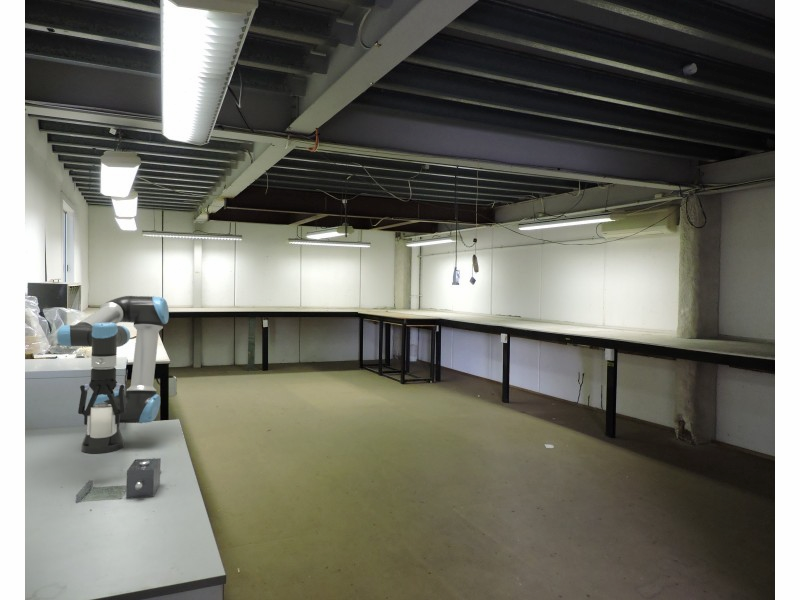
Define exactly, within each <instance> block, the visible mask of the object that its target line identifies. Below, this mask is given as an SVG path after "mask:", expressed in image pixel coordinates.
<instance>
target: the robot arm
mask: <svg viewBox="0 0 800 600" xmlns="http://www.w3.org/2000/svg"><path fill="white" fill-rule="evenodd" d="M168 306H169V305H168V301H167V300H166V299H165V298H164V297H160V296H155V295H154V296H149V295H147V296H145V295H143V296H140V295H138V296H137V295H123V296H119V297H115V298H113V299H111V300H108V301H106V302H104V303H103V304H101V306H100V307H99V309H98V310H97V311H95V312H94V313H91V314H90V315H88V316H87V317H86V318H84V319H82V320H80V321H79V322H77V323H76V324H74V325H72V324H69V325H68V324H66V325H61V326H59V328H58V330H57V332H56V340H57V344H59V345H60V346H62V347H70V348H71V347H83V348H85V347H87V348H88V347H91V357H90V358H91V359H90V362H91V363H90V364H91V365H90V367H91V369H90V381H89V383H87V384H86V383H83V384H81V385H80V386H79V389H80V397H79V404H78V410H77V413H78V415H83V417H84V419H83V424H84V425H85V426H86V425H87V426H86V433H85V436H84V437H83V440H82V443H81V451H82V452H83V453H86V454H103V453H111V452H114V451H117V450H121V449H122V448H123V447H124V445H125V444H124V438H123V435H122V434H123V433H122V431H121V430H120V424H147V423H153V421H155V420H156V418H157V416H158V414H159V410H160V406H161V396H160V394H157V392H158V391H157V389H156V388H155V387H154V384H155V383H154V381H155V370H156V362H157V352H158V344H159V343H158V341H159V334H160V331H161V330H162V329H164V325H166V324H167V323H168V322H169V319H170V315H169V314H170V313H169V312H170V311H169V307H168ZM118 323H133V327H134V329H135V330H136V336H135V343H134V344H135V345H134V354H133V361H132V363H133V364H132V370H131V371H132V372H131V379H130V381H131V382H130V386H129V387H128V388H127V389H126V385H127V384H126V383H122V384H121V383H118V382H117V368H116V367H117V352H118V351H117V350H118V348H119V347H122V346H124V345H126V344H127V343H128V342H129V341H130V339H131V332H130V330H129V329H128V328H127V327H125V326H124V325H118ZM115 388H117V390H115ZM89 389H91V391H92V395H90V396H89V397H88V399H87V396H88V391H89ZM125 389H126V391H125ZM87 400H88V401H87ZM100 402H108V404H111V405H112V408H113V410H114V415H113V416H112V434H113V435H112V436H109V437H105V438H91V437H90V420H91V407H92V406H94V405H98V403H100ZM86 403H87V405H86Z"/></svg>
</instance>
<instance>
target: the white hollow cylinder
mask: <svg viewBox="0 0 800 600" xmlns="http://www.w3.org/2000/svg"><path fill="white" fill-rule="evenodd" d="M113 415H114V410H113V408H112V405H111V404H108V402H100V403H98V405H94V406H92V407H91V420H90V437H91V438H105V437H109V436H112V435H113V434H112V416H113Z"/></svg>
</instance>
